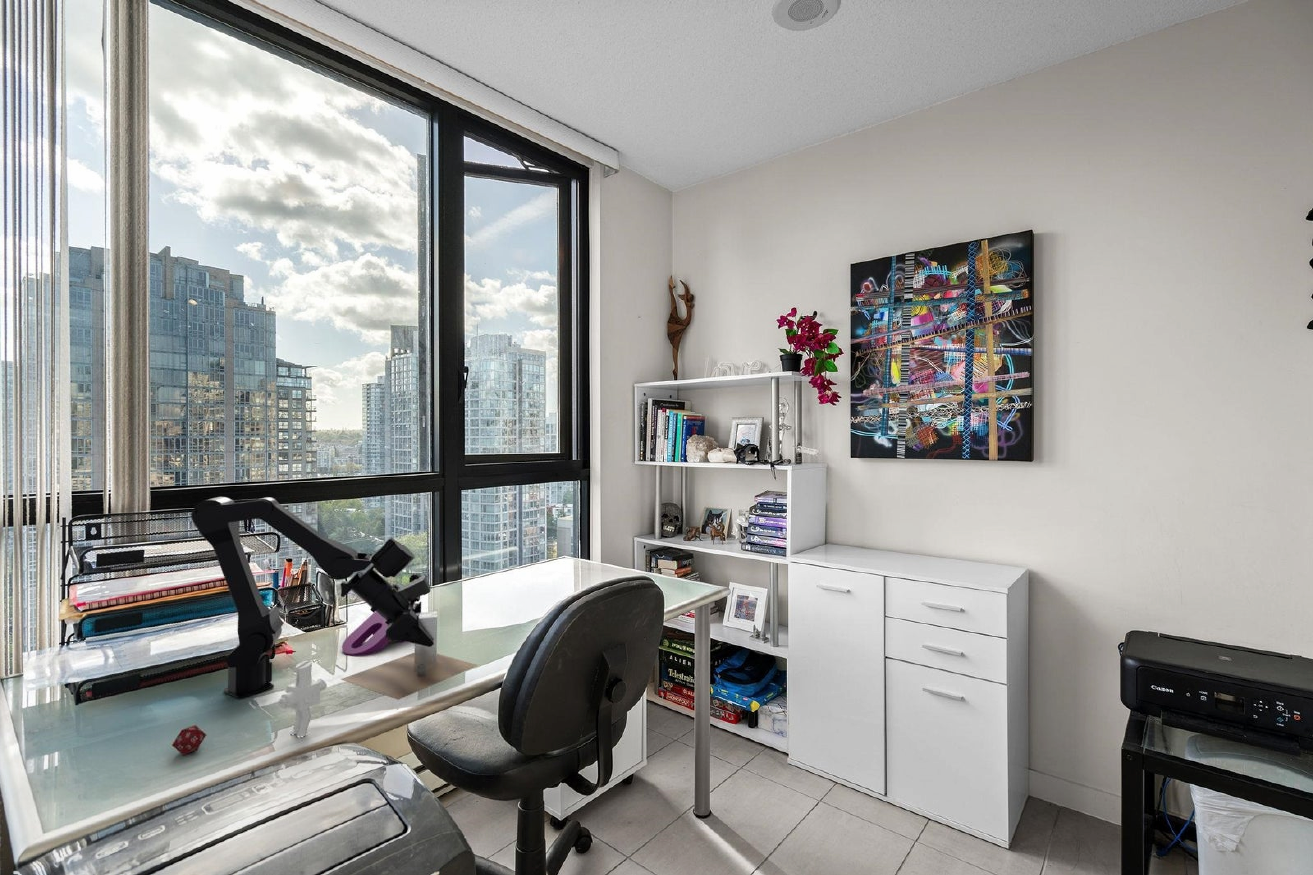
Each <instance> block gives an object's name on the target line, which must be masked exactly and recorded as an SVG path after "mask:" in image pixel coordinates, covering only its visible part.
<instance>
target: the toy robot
mask: <svg viewBox="0 0 1313 875" xmlns="http://www.w3.org/2000/svg"><path fill="white" fill-rule="evenodd" d="M312 665H313V662H312V661H311V660H304V661H301V662H299V663H297V664H296V666H295V675H296V676H295V677H296V678H295V682H294V683H293V682H292V683H291V684H288V685H286V693H284V694H282V695H281V696H280V699H279V700H278V705H279V707H280V708H283V709H285V710H288V709H289V708H291V709H294V711H295V717H296V718H295V721H294V725H293V730H292V732H290V734H293V736H295V735H294V734H297V735H296V736H299V737H301V736H305V735H306V734H307V735H308V728H309V726H310V725H309V724H310V722H311V719H312V715H311V709H310V707H312V706H316V705H318V704H319V703H321V692H322V691H324V690H326V689H327V687H328V686H327V682H326V681H325V680H324V679H322V678H318V679H316V680H314V679H312V668H313V666H312ZM307 735H306V736H307ZM306 736H305V737H306Z"/></svg>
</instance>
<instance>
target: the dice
mask: <svg viewBox="0 0 1313 875" xmlns="http://www.w3.org/2000/svg"><path fill="white" fill-rule="evenodd" d="M206 737H207V733H205V732H204V731H203V730H202V729H200V728H199V727H198V726H197V725H192V726H189V727H186V728H183V729H181V730H180V732H179V733H178V735H177V736H176V737H175V739H174V741H173V742H172V745H171V746H172V747H174V748H175V750H177V751H178V752H179V753H180V754H181V755H183V756H184V755H187V754H190V753H192V752H195V751H198V749H199V747H200V746H201V744H203V741H204V739H205V738H206Z"/></svg>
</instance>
